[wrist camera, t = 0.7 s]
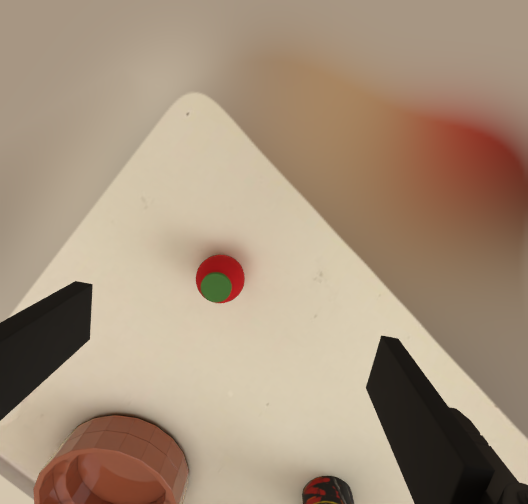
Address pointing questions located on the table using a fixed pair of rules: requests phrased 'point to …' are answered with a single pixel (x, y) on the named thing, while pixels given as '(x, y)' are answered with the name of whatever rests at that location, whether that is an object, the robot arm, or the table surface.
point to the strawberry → (220, 279)
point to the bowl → (114, 466)
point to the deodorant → (327, 491)
